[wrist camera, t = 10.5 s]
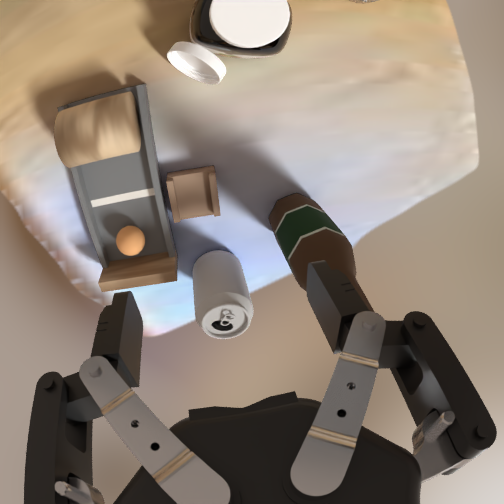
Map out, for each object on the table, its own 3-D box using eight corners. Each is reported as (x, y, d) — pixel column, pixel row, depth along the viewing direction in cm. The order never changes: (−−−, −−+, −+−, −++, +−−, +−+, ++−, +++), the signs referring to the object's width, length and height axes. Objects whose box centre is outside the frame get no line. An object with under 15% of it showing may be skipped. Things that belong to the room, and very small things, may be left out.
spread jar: (279, 10, 29) (313, -11, 19) (263, 91, 34) (291, 99, 25) (180, -4, 26) (176, -35, 16) (165, 80, 31) (154, 82, 22)
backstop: (105, 259, 43) (98, 283, 38) (175, 248, 44) (174, 271, 39) (109, 268, 44) (102, 292, 39) (177, 257, 45) (177, 280, 40)
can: (185, 279, 47) (187, 337, 38) (203, 240, 44) (209, 295, 34) (228, 291, 50) (240, 348, 40) (249, 255, 47) (266, 309, 37)
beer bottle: (288, 248, 48) (353, 374, 28) (255, 217, 44) (313, 349, 24) (327, 215, 46) (416, 328, 26) (297, 180, 42) (390, 291, 22)
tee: (167, 172, 38) (165, 180, 35) (213, 165, 39) (215, 172, 36) (175, 214, 41) (174, 224, 39) (218, 207, 42) (220, 216, 39)
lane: (64, 105, 30) (57, 107, 28) (145, 83, 31) (143, 84, 29) (105, 259, 43) (102, 268, 41) (175, 248, 44) (175, 256, 42)
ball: (115, 222, 39) (122, 247, 42) (110, 237, 36) (118, 263, 38) (143, 218, 40) (149, 243, 42) (139, 232, 37) (146, 259, 39)
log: (71, 106, 30) (49, 115, 24) (135, 89, 31) (123, 93, 25) (82, 158, 34) (63, 176, 28) (143, 144, 35) (134, 159, 29)
